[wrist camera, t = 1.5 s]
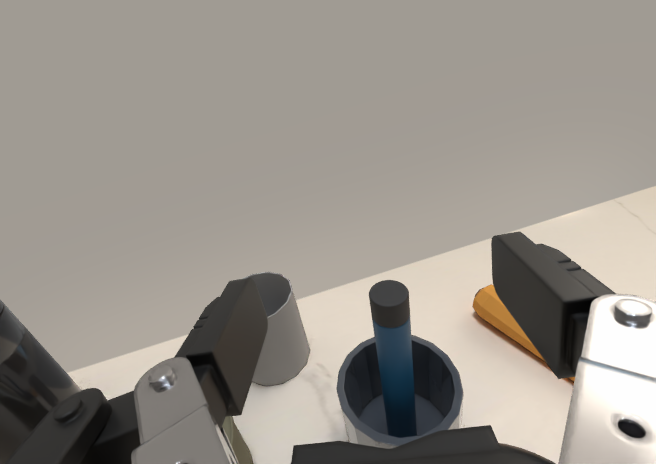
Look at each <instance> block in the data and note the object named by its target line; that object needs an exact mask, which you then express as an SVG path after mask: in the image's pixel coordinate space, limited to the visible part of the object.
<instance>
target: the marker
mask: <svg viewBox="0 0 656 464" xmlns="http://www.w3.org/2000/svg"><path fill="white" fill-rule="evenodd" d="M369 299H370V306H371V313H372V320H373V328H374V335H375V342H376V349H377V356H378V364H379V371H380V378H381V385H382V393H383V400H384V407H385V414H386V421H387V429H388V435H389V436H394V437H398V438H403V437H411V436H417V430H416V412H415V395H414V377H413V360H412V342H411V325H410V308H409V292H408V289H407V288H406V286H405V285H404V284H402V283H400V282H398V281H394V280H385V281H381V282H378V283H376V284H375V285H373V286H372V288H371V289H370V292H369Z"/></svg>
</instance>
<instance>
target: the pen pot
mask: <svg viewBox="0 0 656 464" xmlns="http://www.w3.org/2000/svg"><path fill="white" fill-rule="evenodd" d="M411 342H412V360H413V377H414V395H415V412H416V430H417V436H411V437H403V438H398V437H394V436H389V435H388V429H387V421H386V414H385V407H384V400H383V393H382V385H381V378H380V371H379V364H378V356H377V349H376V342H375V337H373V338H371V339H369V340H366V341H364V342H362V343H361V344H359V345H358V346H357V347H356V348H355V349H354V350H353V351H351V352H350V353H349V354H348V355H347V357H346V359H345V361H344V363H343V364H342V366H341V368H340V370H339V374H338V382H337V393H338V397H339V401H340V405H341V409H342V413H343V417H344V421H345V425H346V429H347V433H348V437H349V441H350V443H355V444H361V445H367V446H373V447H379V448H386V449H390V448H395V447H398V446H400V445H403V444H406V443H408V442H411V441H413V440H416V439H419V438H421V437H424V436H427V435H429V434H432V433H434V432H437V431H441V430H450V429H460V428H461V422H462V407H463V388H462V384H461V379H460V375H459V372H458V371H457V369H456V367H455V366H454V364H453V363H452V361H451V360H450V358H449V357H448V355H447V354H445V353H444V352H443V351H442V350H440V349H439V348H438V347H437V346H435V345H434V344H433V343H431V342H429V341H426V340H424V339H421V338H419V337H417V336H414V335H411Z"/></svg>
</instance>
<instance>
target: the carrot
mask: <svg viewBox="0 0 656 464" xmlns="http://www.w3.org/2000/svg"><path fill="white" fill-rule="evenodd" d="M473 308H474V309H475V311H476V312H477V313H478V315H479V316H480V317H481V318H483V319H484V320H486V321H487V322H489V323H490V324H492V325H493V326H494V327H496V328H497V329H499V330H500V331H502V332H503V333H505V334H506V335H508V336H509V337H510V338H512V339H513V340H515V341H516V342H518V343H519V344H521V345H522V346H523V347H525V348H526V349H528V350H529V351H531V352H532V353H534V354H535V355H536V356H538V357H539V358H541V359H542V360H544V359H543V357H542V356H541V355H540V353H539V352H538V351H537V349H536V348H535V346H534V345H533V344H532V342H531V341H530V340H529V338H528V337H527V336H526V334H525V333H524V331H523V330H522V329H521V327H520V326H519V325H518V323H517V322H516V321H515V319H514V318H513V316H512V315H511V314H510V312H509V311H508V310H507V308H506V307H505V306H504V304H503V303H502V301H501V300H500V299H499V297H498V296H497V293H496V291H495V288H494V286H493V285H489V286H487V287H485V288H482V289H480V290H479V291H478V292H477V293H476V295H475V298H474V302H473ZM544 361H545V360H544ZM545 362H546V361H545ZM570 379H571V380H573V381H575V377H570Z"/></svg>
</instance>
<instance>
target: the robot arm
mask: <svg viewBox="0 0 656 464" xmlns="http://www.w3.org/2000/svg"><path fill="white" fill-rule="evenodd" d="M492 278H493V285H494V288H495V291H496V293H497V296H498V297H499V299H500V300H501V301H502V303H503V304H504V306H505V307H506V308H507V310H508V311H509V312H510V314H511V315H512V316H513V318H514V319H515V321H516V322H517V323H518V325H519V326H520V327H521V329H522V330H523V331H524V333H525V334H526V336H527V337H528V338H529V340H530V341H531V342H532V344H533V345H534V346H535V348H536V349H537V351H538V352H539V353H540V355H541V356H542V357H543V359H544V360H545V361H546V363H547V364H548V365H549V367H550V368H551V370H552V371H553V372H554V374H555V375H556V376H557V378H558V379H561V378H570V377H575V381H574V386H573V391H572V396H571V401H570V407H569V412H568V417H567V422H566V427H565V432H564V438H563V443H562V448H561V453H560V458H559V464H656V302H655V301H653V300H650V299H647V298H643V297H639V296H635V295H628V294H616V293H614V292H613V291H612V290H610V289H609V288H608V287H607V286H605V285H604V284H603V283H601V282H600V281H599V280H597V279H596V278H595V277H593V276H592V275H591V274H589V273H588V272H587V271H586V270H584V269H581V267H580V266H579V265H578V264H576V263H575V262H574V261H571V259H570V258H568V257H567V256H566V255H565V254H563V253H562V252H561V251H559V250H557V249H554V248H552V247H549V246H546V245H544V244H537V245H536V244H535V243H533V242H532V241H531V240H530V239H529V238H527V237H526V236H525V235H524V234H522V233H521V232H514V233H508V234H502V235H497V236H494V237H493V238H492ZM267 330H268V319H267V314H266V311H265V308H264V306H263V303H262V300H261V297H260V294H259V292H258V289H257V286H256V283H255V281H254V280H253V279H252V278H245V279H239V280H233V281H230V282H229V283H228V284H227V286H226V288H225V289H224V291H223V293H222V295H221V296H220V297H217V298H216V299H215V300H214V301H212V302H211V303H210V304H209V305H208V306H207V307H206V308H205V310H204V311H203V313H202V314H201V316H200V317H199V320H198V321H197V322H196V324H195V326H194V329H192V330H191V332H190V333H189V335H188V337H187V338H186V340H185V341H184V343H183V345H182V346H181V348H180V349H179V351H178V353H177V354H176V356H175V357H174V358H171V359H168V360H165V361H163V362H161V363H159V364H157V365H156V366H154V367H153V368H151V369H150V370H149V371H147V372H146V373H145V374H144V375H143V376H142V377H141V378H140V380H139V381H138V383H137V384H136V386H135V389H134V391H132V392H129V393H126V394H124V395H121V396H119V397H116V398H113V399H111V400H108V401H107V399H106V398H105V396H104V395H103V393H102V392H101V391H100V390H99V389H96V388H90V389H85V390H81V389H80V388H79V387H78V385H77V384H76V383H75V382H74V381H73V380H72V379H71V378H70V377H69V375H68V374H67V373H66V372H65V371H64V370H63V369H62V368H61V366H60V365H59V364H58V363H57V362H56V361H55V360H54V359H53V358H52V356H51V355H50V354H49V353H48V352H47V351H46V350H45V349H44V348H43V347H42V346H41V344H40V343H39V342H38V341H37V340H36V339H35V338H34V337H33V335H32V334H31V333H30V332H29V331H28V330H27V329H26V328H25V326H24V325H23V324H22V323H21V322H20V321H19V320H18V319H17V318H16V317H15V316H14V314H13V313H12V312H11V311H10V310H9V309H8V308H7V307H6V306H5V304H4V303H3V302H2V301H1V300H0V464H239V462H238V460H237V458H236V456H235V453H234V451H233V449H232V446H231V444H230V442H229V440H228V437H227V435H226V433H225V431H224V429H223V427H222V425H223V423H224V420H225V417H228V416H237V415H241V414H242V411H243V407H244V404H245V401H246V398H247V395H248V391H249V388H250V385H251V382H252V379H253V375H254V372H255V369H256V366H257V363H258V359H259V356H260V353H261V350H262V347H263V343H264V340H265V337H266V334H267ZM291 464H555V463H554V462H552V461H550V460H548V459H546V458H544V457H542V456H540V455H537V454H535V453H533V452H530V451H527V450H525V449H522V448H519V447H515V446H511V445H507V444H501V443H498V441H497V439H496V437H495V434H494V432H493V430H492V427H491V425H489V426H479V427H469V428H460V429H450V430H441V431H437V432H434V433H432V434H429V435H427V436H424V437H421V438H419V439H416V440H413V441H411V442H408V443H406V444H403V445H400V446H398V447H395V448H390V449H386V448H379V447H373V446H367V445H361V444H355V443H349V442H343V441H334V442H325V443H315V444H305V445H296V446H294V448H293V455H292V462H291Z"/></svg>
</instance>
